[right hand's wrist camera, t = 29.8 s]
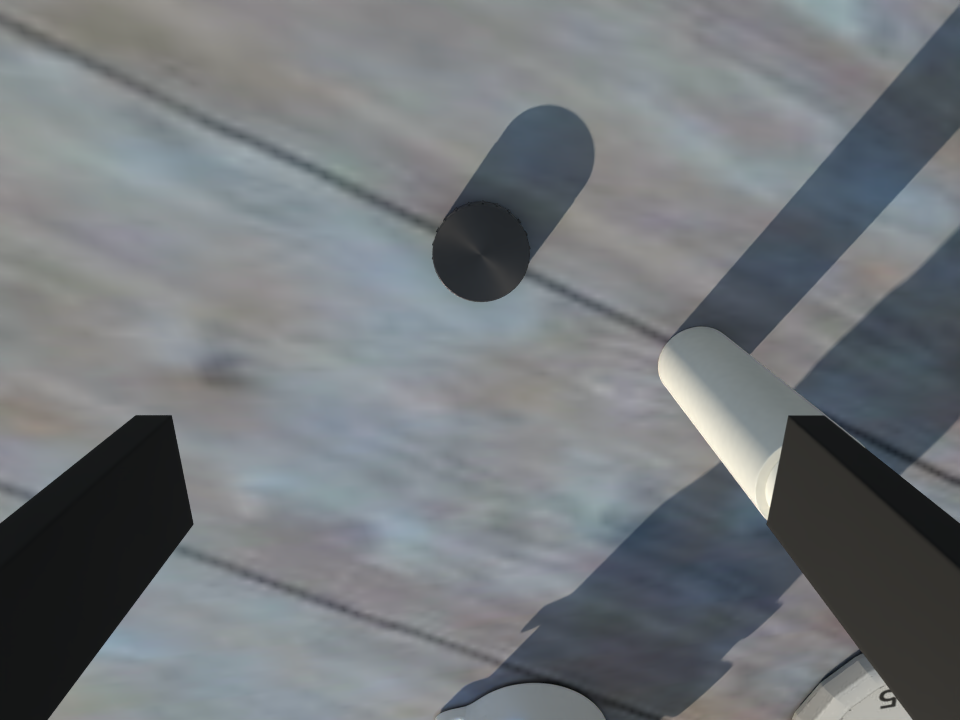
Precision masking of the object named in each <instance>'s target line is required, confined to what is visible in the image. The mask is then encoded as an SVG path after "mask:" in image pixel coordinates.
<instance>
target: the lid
mask: <svg viewBox="0 0 960 720" xmlns="http://www.w3.org/2000/svg"><path fill="white" fill-rule="evenodd" d="M520 223H521V222H520V220H519V219H517V218H516V217H515V216H514V215H513V214H512V213H511V212H510V210H509V209H508V210H507V209H505V208H503V207H501V206H499V205H498V204H497V203H496V204H494V203H489V202H484V201H482V202H473V203H470V202H468V204H466V205H463V206H461V207H459V208H457V207H456V208H455V210H454V211H453V212H451V213H450V214H449V215H448V216H446V217H445V218H444V221H443V223H442V224H441V226H440V228H439V227H438V229H437V231H436V232H437V234H436V237H435V240H434V242H433V244H432V245H433V254H432V255H433V257H432V259H433V263H434V267H435V270H436V273H437V275H438V277H439V279H440V280H441V281H442V283H443V284H444V285H445V286H446V288H447V289H449V290H450V291H451V292H452V293H454V294H455V295H457V296H459V297H461V298H463V299H466V300H469V301H474V302H488V301H493V300H496V299H499V298H501V297H503V296H505V295H507V294H508V293H510V292H511V291H512V290H513V289H515V288H516V287H517V285H518V284H519V283H520V282H521V280H522V279H523V277H524V275H525V273H526V270H527V268H528V264H529V257H530V250H529V249H530V246H529V243H528V239H527V233H526V231H524V230H523V228H522V226H521V224H520Z"/></svg>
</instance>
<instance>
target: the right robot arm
mask: <svg viewBox="0 0 960 720" xmlns="http://www.w3.org/2000/svg"><path fill="white" fill-rule="evenodd" d="M192 526H193V519H192V514H191V509H190V504H189V499H188V494H187V489H186V484H185V479H184V474H183V469H182V464H181V459H180V454H179V449H178V444H177V439H176V434H175V429H174V424H173V419H172V415H136V416H134V417H133V418H132V419H131V420H129V421H128V422H127V423H126V424H124V425H123V426H122V427H121V428H119V429H118V430H117V431H116V432H114V433H113V434H112V435H111V436H109V437H108V438H107V439H105V440H104V441H103V442H102V443H100V444H99V445H98V446H97V447H95V448H94V449H93V450H92V451H90V452H89V453H88V454H87V455H85V456H84V457H83V458H82V459H80V460H79V461H78V462H77V463H75V464H74V465H73V466H72V467H70V468H69V469H68V470H67V471H65V472H64V473H63V474H62V475H60V476H59V477H58V478H57V479H55V480H54V481H53V482H52V483H50V484H49V485H48V486H47V487H45V488H44V489H43V490H42V491H40V492H39V493H38V494H37V495H35V496H34V497H33V498H32V499H30V500H29V501H28V502H27V503H25V504H24V505H23V506H22V507H20V508H19V509H18V510H17V511H15V512H14V513H13V514H12V515H10V516H9V517H8V518H6V519H5V520H4V521H3V522H1V523H0V720H48V718H49V717H50V716H51V714H52V713H53V712H54V710H55V709H56V708H57V706H58V705H59V704H60V702H61V701H62V700H63V698H64V697H65V696H66V694H67V693H68V692H69V690H70V689H71V688H72V686H73V685H74V684H75V682H76V681H77V680H78V678H79V677H80V676H81V674H82V673H83V672H84V670H85V669H86V668H87V666H88V665H89V664H90V662H91V661H92V660H93V658H94V657H95V656H96V654H97V653H98V652H99V650H100V649H101V648H102V646H103V645H104V644H105V642H106V641H107V639H108V638H109V637H110V635H111V634H112V633H113V631H114V630H115V629H116V627H117V626H118V625H119V623H120V622H121V621H122V619H123V618H124V617H125V615H126V614H127V613H128V611H129V610H130V609H131V607H132V606H133V605H134V603H135V602H136V601H137V599H138V598H139V597H140V595H141V594H142V593H143V591H144V590H145V589H146V587H147V586H148V585H149V583H150V582H151V581H152V579H153V578H154V577H155V575H156V574H157V573H158V571H159V570H160V569H161V567H162V566H163V564H164V563H165V562H166V560H167V559H168V558H169V556H170V555H171V554H172V552H173V551H174V550H175V548H176V547H177V546H178V544H179V543H180V542H181V540H182V539H183V538H184V536H185V535H186V534H187V532H188V531H189V530H190V528H191V527H192ZM767 526H768V527H769V528H770V530H771V531H772V532H773V534H774V535H775V536H776V538H777V539H778V540H779V542H780V543H781V544H782V546H783V547H784V548H785V550H786V551H787V552H788V554H789V555H790V556H791V558H792V559H793V560H794V562H795V563H796V564H797V566H798V567H799V569H800V570H801V571H802V573H803V574H804V575H805V577H806V578H807V579H808V581H809V582H810V583H811V585H812V586H813V587H814V589H815V590H816V591H817V593H818V594H819V595H820V597H821V598H822V599H823V601H824V602H825V603H826V605H827V606H828V607H829V609H830V610H831V611H832V613H833V614H834V615H835V617H836V618H837V619H838V621H839V622H840V623H841V625H842V626H843V627H844V629H845V630H846V631H847V633H848V634H849V635H850V637H851V638H852V639H853V641H854V642H855V644H856V645H857V646H858V648H859V649H860V650H861V652H862V653H863V654H864V656H865V657H866V658H867V660H868V661H869V662H870V664H871V665H872V666H873V668H874V669H875V670H876V672H877V673H878V674H879V676H880V677H881V678H882V680H883V681H884V682H885V684H886V685H887V686H888V688H889V689H890V690H891V692H892V693H893V694H894V696H895V697H896V698H897V700H898V701H899V702H900V704H901V705H902V706H903V708H904V709H905V710H906V712H907V713H908V714H909V716H910V717H911V719H912V720H960V523H959V522H957V521H956V520H955V519H954V518H952V517H951V516H950V515H948V514H947V513H946V512H945V511H943V510H942V509H941V508H940V507H938V506H937V505H936V504H935V503H933V502H932V501H931V500H930V499H928V498H927V497H926V496H925V495H923V494H922V493H921V492H920V491H918V490H917V489H916V488H915V487H913V486H912V485H911V484H910V483H908V482H907V481H906V480H905V479H903V478H902V477H901V476H900V475H898V474H897V473H896V472H895V471H893V470H892V469H891V468H890V467H888V466H887V465H886V464H885V463H883V462H882V461H881V460H880V459H878V458H877V457H876V456H875V455H873V454H872V453H871V452H870V451H868V450H867V449H866V448H865V447H863V446H862V445H861V444H860V443H858V442H857V441H856V440H855V439H853V438H852V437H851V436H849V435H848V434H847V433H846V432H844V431H843V430H842V429H841V428H839V427H838V426H837V425H836V424H834V423H833V422H832V421H831V420H829V419H828V418H827V417H826V416H824V415H788V419H787V424H786V429H785V434H784V439H783V444H782V449H781V454H780V459H779V464H778V469H777V474H776V479H775V484H774V489H773V494H772V499H771V504H770V509H769V514H768V519H767Z"/></svg>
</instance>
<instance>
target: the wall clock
mask: <svg viewBox="0 0 960 720" xmlns="http://www.w3.org/2000/svg"><path fill="white" fill-rule="evenodd" d="M792 720H912V719H911V717H910V716H909V714H908V713H907V712H906V710H905V709H904V708H903V706H902V705H901V704H900V702H899V701H898V700H897V698H896V697H895V696H894V694H893V693H892V692H891V690H890V689H889V688H888V686H887V685H886V684H885V682H884V681H883V680H882V678H881V677H880V676H879V674H878V673H877V672H876V670H875V669H874V668H873V666H872V665H871V664H870V662H869V661H868V660H867V658H866V657H865V656H864V654H861V655H859V656H856V657H855V658H853V659H852V660H851V661H849V662H848V663H846V664H845V665H844V666H842V667H841V668H840V669H838V670H837V671H836V672H834V673H833V674H832V675H830V676H829V677H828V678H826V679H825V680H824V681H822V682H821V683H820V684H819V685H818V686H817V687H816V688H815V690H814V691H813V692H812V693H811V694H810V695H809V697H808V698H807V699H806V700H805V701H804V702H803V703H802V705H801V706H800V707H799V708H798V709H797V710H796V712H795V714H794V716H793V718H792Z"/></svg>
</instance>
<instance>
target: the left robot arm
mask: <svg viewBox="0 0 960 720" xmlns="http://www.w3.org/2000/svg"><path fill="white" fill-rule="evenodd" d="M435 720H606V719H605V717H604V715H603V714H602V712H601V711H600V709H599V708H598V707H597V706H596V705H595V704H594V703H593V702H592V701H590V700H589V699H588V698H586V697H585V696H583V695H582V694H580V693H578V692H576V691H573V690H571V689H568V688H565V687H562V686H558V685H553V684H546V683H523V684H516V685H511V686H507V687H503V688H500V689H498V690H495V691H493V692H491V693H488V694H487V695H485V696H483V697H482V698H480V699H478V700H477V701H475V702H474V703H472V704H470V705H468V706H465V707H460V708H456V709H451V710H448V711H445V712H442V713H440V714H439V715H438V716H437V717H436V719H435Z"/></svg>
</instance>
